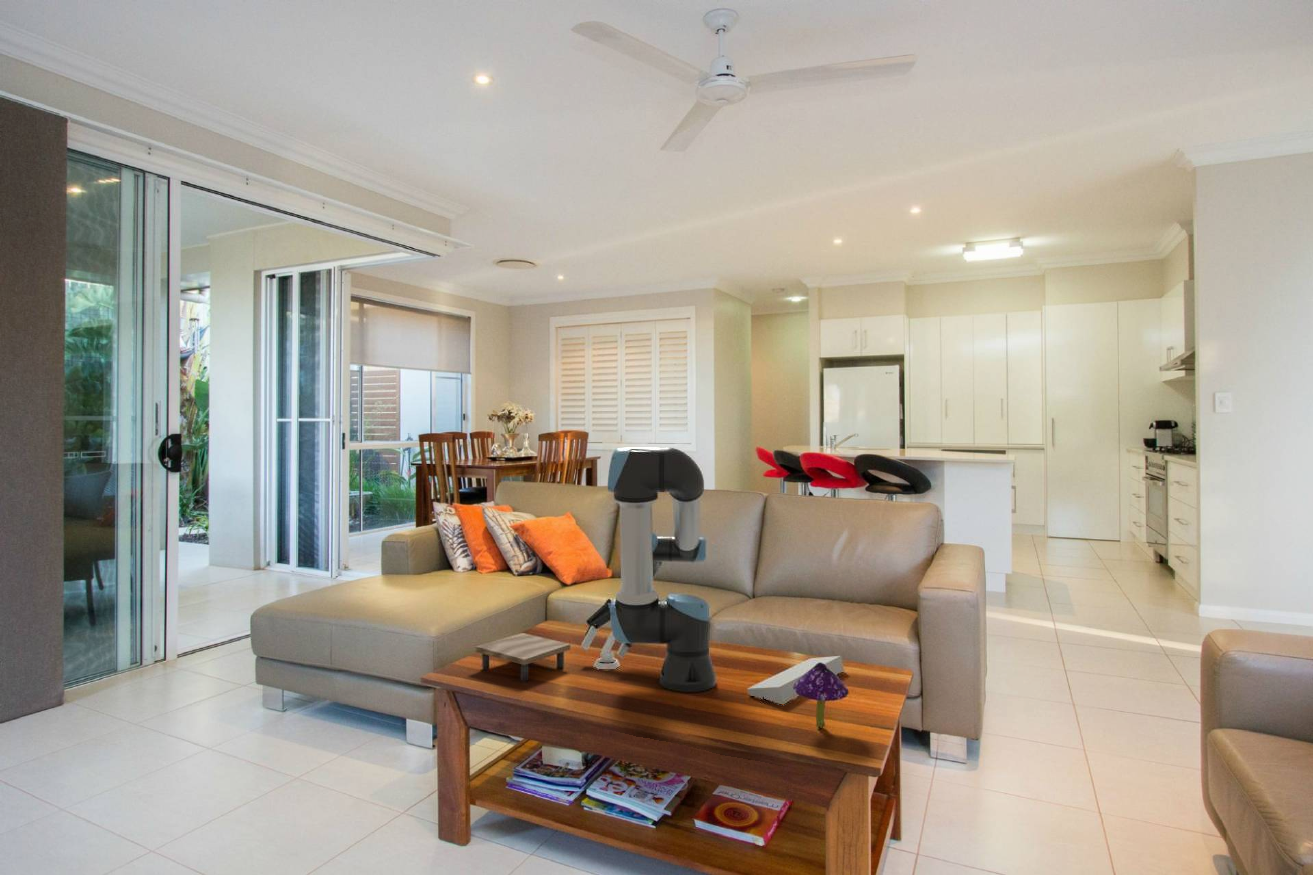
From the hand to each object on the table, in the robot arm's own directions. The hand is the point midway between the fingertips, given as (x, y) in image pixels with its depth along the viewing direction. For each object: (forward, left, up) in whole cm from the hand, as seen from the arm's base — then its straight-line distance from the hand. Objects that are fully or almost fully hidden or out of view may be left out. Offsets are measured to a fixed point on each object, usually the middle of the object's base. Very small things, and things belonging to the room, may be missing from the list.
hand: (601, 651), depth 201 cm
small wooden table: (+18, +14, -5) cm, 23 cm away
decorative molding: (-51, -22, -5) cm, 56 cm away
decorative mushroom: (-68, +3, -5) cm, 68 cm away
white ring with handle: (0, -2, -5) cm, 6 cm away
